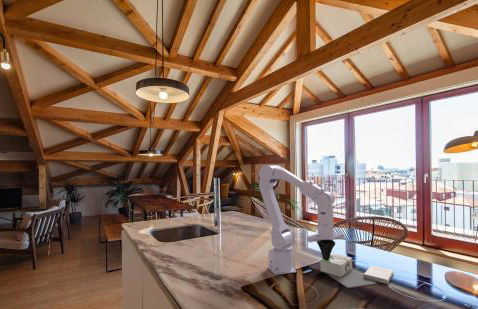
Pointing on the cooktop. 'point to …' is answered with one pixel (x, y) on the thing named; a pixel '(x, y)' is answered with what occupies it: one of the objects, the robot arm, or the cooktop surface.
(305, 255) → the cooktop surface
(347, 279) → the mat
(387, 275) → the external hard drive
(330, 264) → the ink box
